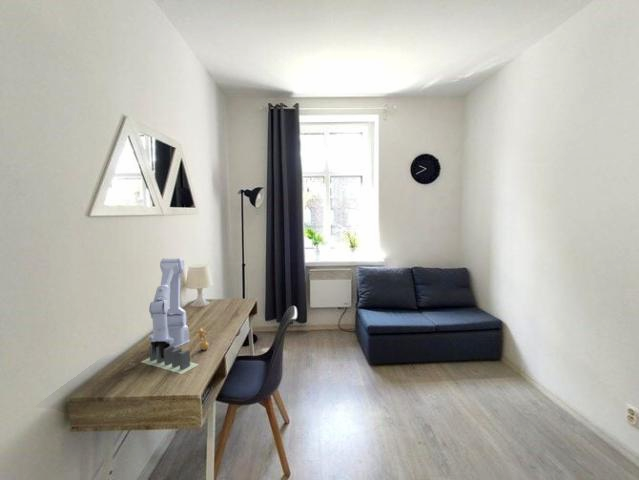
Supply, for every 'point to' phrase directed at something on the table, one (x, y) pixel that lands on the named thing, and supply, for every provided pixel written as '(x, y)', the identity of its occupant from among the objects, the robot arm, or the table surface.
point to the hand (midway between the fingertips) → (162, 356)
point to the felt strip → (169, 366)
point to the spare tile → (159, 356)
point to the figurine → (204, 344)
